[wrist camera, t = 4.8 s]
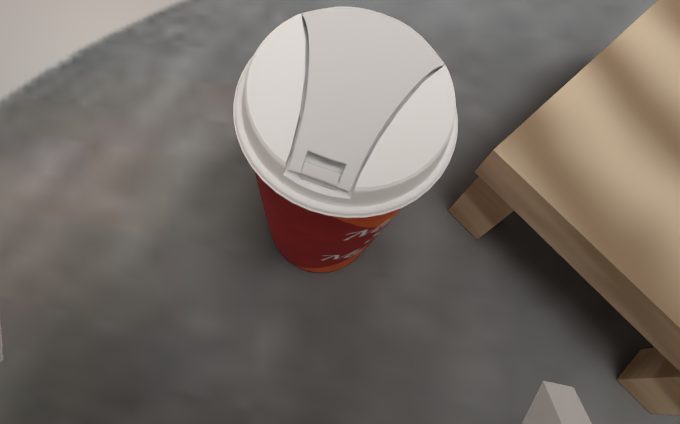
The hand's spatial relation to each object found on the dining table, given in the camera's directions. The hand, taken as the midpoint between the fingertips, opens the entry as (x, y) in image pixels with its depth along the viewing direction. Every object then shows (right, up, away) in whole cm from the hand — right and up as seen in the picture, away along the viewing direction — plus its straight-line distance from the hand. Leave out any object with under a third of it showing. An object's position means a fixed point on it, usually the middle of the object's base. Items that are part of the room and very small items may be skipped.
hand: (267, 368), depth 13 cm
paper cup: (+1, +3, +17) cm, 17 cm away
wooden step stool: (+19, +3, +19) cm, 27 cm away
